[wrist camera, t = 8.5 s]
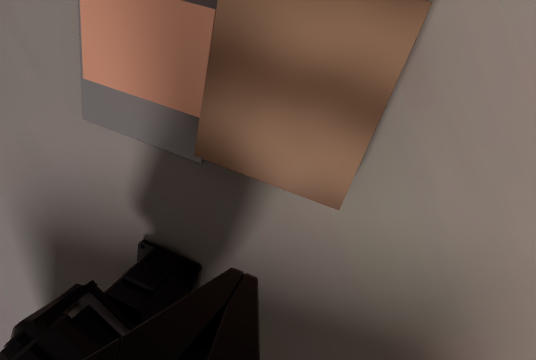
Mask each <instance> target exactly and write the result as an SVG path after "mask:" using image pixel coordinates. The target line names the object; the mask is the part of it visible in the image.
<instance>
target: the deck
mask: <svg viewBox="0 0 536 360" xmlns="http://www.w3.org/2000/svg"><path fill="white" fill-rule="evenodd" d="M431 4H432V2H429V1H425V0H218V1H217V8H216V14H215V21H214V27H213V34H212V40H211V47H210V54H209V60H208V67H207V73H206V80H205V86H204V93H203V99H202V106H201V112H200V119H199V126H198V132H197V139H196V145H195V152H194V156H196V157H198V158H201V159H204V160H206V161H209V162H212V163H214V164H217V165H220V166H222V167H225V168H228V169H230V170H233V171H236V172H238V173H241V174H244V175H246V176H249V177H252V178H254V179H257V180H260V181H262V182H265V183H268V184H270V185H273V186H276V187H278V188H281V189H284V190H286V191H289V192H292V193H294V194H297V195H300V196H302V197H305V198H308V199H310V200H313V201H315V202H318V203H321V204H323V205H326V206H329V207H331V208H334V209H337V210H339V209H340V207H341V205H342V203H343V200H344V198H345V196H346V194H347V191H348V189H349V187H350V185H351V183H352V180H353V178H354V176H355V174H356V171H357V169H358V167H359V165H360V162H361V160H362V158H363V156H364V154H365V151H366V149H367V147H368V145H369V142H370V140H371V138H372V136H373V134H374V131H375V129H376V127H377V125H378V122H379V120H380V118H381V116H382V114H383V111H384V109H385V107H386V105H387V102H388V100H389V98H390V96H391V93H392V91H393V89H394V87H395V85H396V82H397V80H398V78H399V76H400V73H401V71H402V69H403V67H404V65H405V62H406V60H407V58H408V56H409V53H410V51H411V49H412V47H413V45H414V42H415V40H416V38H417V36H418V33H419V31H420V29H421V27H422V25H423V22H424V20H425V18H426V16H427V13H428V11H429V9H430V7H431Z"/></svg>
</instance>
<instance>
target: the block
mask: <svg viewBox="0 0 536 360" xmlns="http://www.w3.org/2000/svg"><path fill="white" fill-rule="evenodd" d="M215 14H216V9H212V8H208V7H205V6H201V5H197V4H193V3H189V2H186V1H182V0H80V18H81V40H82V63H83V78H84V79H87V80H89V81H92V82H95V83H98V84H101V85H104V86H107V87H110V88H113V89H116V90H119V91H122V92H125V93H128V94H131V95H134V96H137V97H140V98H143V99H146V100H149V101H152V102H155V103H158V104H160V105H163V106H166V107H169V108H172V109H175V110H178V111H181V112H184V113H187V114H190V115H193V116H196V117H199V118H200V112H201V106H202V99H203V93H204V86H205V80H206V73H207V67H208V60H209V54H210V47H211V40H212V34H213V27H214V21H215Z"/></svg>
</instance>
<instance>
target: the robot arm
mask: <svg viewBox="0 0 536 360" xmlns="http://www.w3.org/2000/svg"><path fill="white" fill-rule="evenodd" d="M195 268H196V269H195ZM200 273H201V266H200V265H199V264H198V263H196V262H194V261H191V260H189V259H187V258H185V257H182V256H180V255H178V254H176V253H173V252H171V251H169V250H167V249H164V248H162V247H160V246H158V245H155V244H153V243H151V242H149V241H146V240H142V241H141V242H140V243H139V244H138V255H137V263H136V264H135V265H133V266H132V267H131V268H130V269H129V270H128V271H127V272H125V273H124V274H123V275H122V277H121V278H120V279H119V280H118V281H116V282H115V283H114V284H113V285H112V286H111V287H110V288H108V289H107V290H106V291H105V292H103V291H102V290H100V289H99V288H98V287H97V284H96V283H95V282H94V281H93V280H92V281H90V282H89V283H88V284H86V285H80V284H75V285H74V286H73V287H71V288H70V289H69V290H68V291H66V292H65V293H64V294H62V295H61V296H60V297H58V298H57V299H55V300H54V301H52V302H51V303H49V304H48V305H46V306H44V307H43V308H41V309H40V310H38V311H36V312H35V313H33V314H32V315H30V316H28V317H27V318H25V319H24V320H22V321H21V322H19V323H18V324H17V325H16V326H15V327H14V328H13V331H12V335H11V339H10V341H9V342H8V343H6V344H5V346H4V349H3V350H2V351H1V352H0V360H260V346H259V300H258V278H257V277H255V276H252V275H250V274H247V273H246V274H244V272H242V271H240V270H237V269H235V268H230V269H228V270H227V271H225V272H224V273H222V274H220V275H219V276H217V277H216V278H214V279H212V280H211V281H209V282H208V283H206V284H204V285H203V286H201V287H200V288H198V283H199V278H200ZM197 288H198V289H197ZM68 314H69V315H70V316H71V317H72V318H71V317H70V316H69V315H68Z"/></svg>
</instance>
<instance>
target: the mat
mask: <svg viewBox="0 0 536 360" xmlns="http://www.w3.org/2000/svg"><path fill="white" fill-rule="evenodd" d="M182 1H186V2H189V3H193V4H197V5H201V6H205V7H208V8H212V9H216V8H217V1H218V0H182ZM78 10H79V36H80V61H81V87H82V113H83V119H84V120H87V121H89V122H92V123H95V124H97V125H100V126H103V127H105V128H108V129H110V130H113V131H116V132H118V133H121V134H124V135H126V136H129V137H132V138H134V139H137V140H139V141H142V142H145V143H147V144H150V145H153V146H155V147H158V148H161V149H163V150H166V151H168V152H171V153H174V154H176V155H179V156H182V157H184V158H187V159H190V160H192V161H195V162H197V163H200V164H201V163H202V162H203V159H201V158H198V157H196V156H194V152H195V145H196V139H197V132H198V126H199V119H200V118H199V117H196V116H193V115H190V114H187V113H184V112H181V111H178V110H175V109H172V108H169V107H166V106H163V105H160V104H158V103H155V102H152V101H149V100H146V99H143V98H140V97H137V96H134V95H131V94H128V93H125V92H122V91H119V90H116V89H113V88H110V87H107V86H104V85H101V84H98V83H95V82H92V81H89V80H87V79H84V78H83V63H82V40H81V18H80V0H78Z"/></svg>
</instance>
